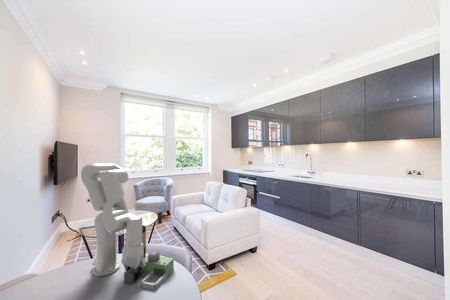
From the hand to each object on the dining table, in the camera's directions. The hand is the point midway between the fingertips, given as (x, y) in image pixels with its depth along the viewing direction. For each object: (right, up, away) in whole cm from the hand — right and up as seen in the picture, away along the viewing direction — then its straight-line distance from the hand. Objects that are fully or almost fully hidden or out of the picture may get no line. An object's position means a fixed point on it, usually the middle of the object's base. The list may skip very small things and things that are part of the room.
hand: (133, 277), depth 95 cm
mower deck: (+9, -1, +2) cm, 9 cm away
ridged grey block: (0, 0, 0) cm, 0 cm away
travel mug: (-4, -2, +16) cm, 16 cm away
